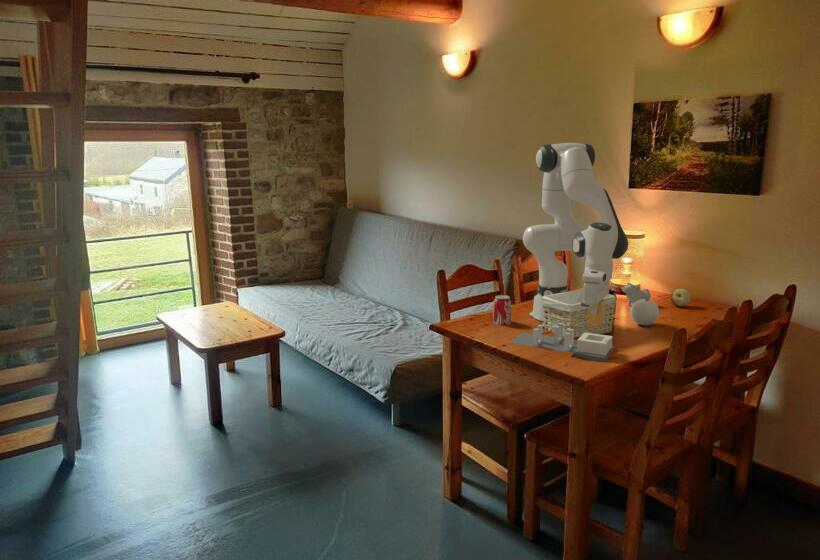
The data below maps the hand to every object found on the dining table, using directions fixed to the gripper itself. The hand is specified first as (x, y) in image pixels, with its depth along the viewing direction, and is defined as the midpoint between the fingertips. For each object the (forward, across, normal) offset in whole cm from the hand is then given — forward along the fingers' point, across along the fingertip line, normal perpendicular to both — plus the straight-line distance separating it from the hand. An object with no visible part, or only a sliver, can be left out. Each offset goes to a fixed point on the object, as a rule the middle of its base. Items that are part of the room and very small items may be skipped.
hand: (596, 312), depth 203 cm
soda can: (+14, -16, -40) cm, 46 cm away
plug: (+4, 0, -2) cm, 4 cm away
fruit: (+14, -79, +18) cm, 82 cm away
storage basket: (+15, -21, -12) cm, 28 cm away
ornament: (+14, -43, +9) cm, 46 cm away
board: (+14, 0, -12) cm, 18 cm away
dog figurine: (+14, -71, +1) cm, 73 cm away
